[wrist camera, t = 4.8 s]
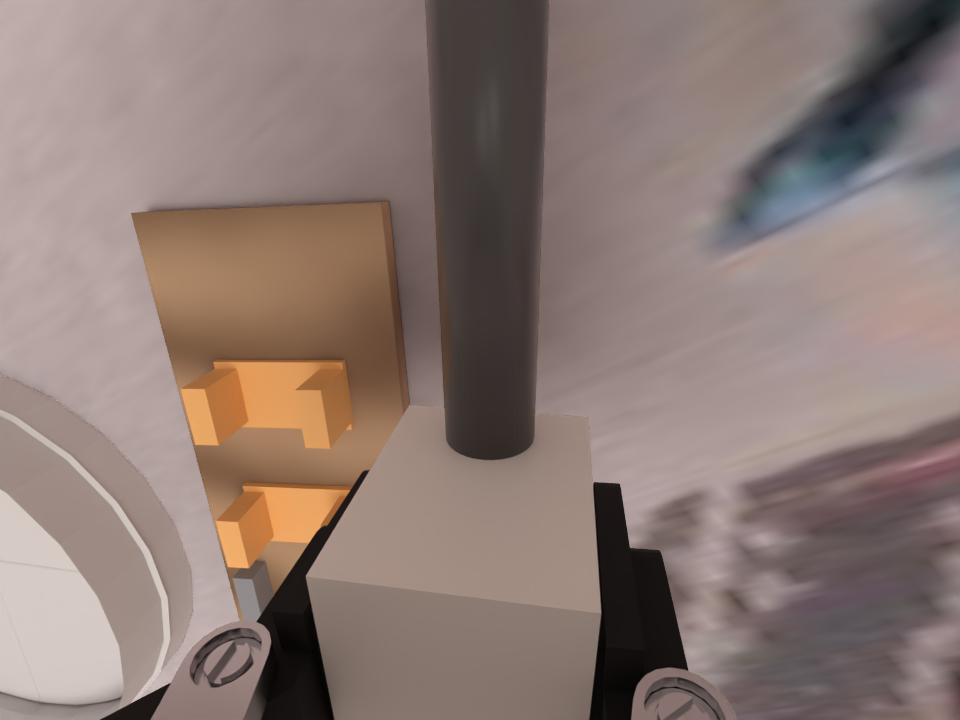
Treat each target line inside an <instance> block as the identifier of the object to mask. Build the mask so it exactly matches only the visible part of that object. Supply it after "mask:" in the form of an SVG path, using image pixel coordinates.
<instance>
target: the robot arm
mask: <svg viewBox="0 0 960 720" xmlns="http://www.w3.org/2000/svg"><path fill="white" fill-rule="evenodd" d="M369 471H370V470H364V471H363V472H362V473H361V475H360V476H359V478H358V479H357V481H356V482H355V484H354V485H353V487H352V488H351V490H350V491H349V493H348V494H347V496H346V498H345V499H344V501H343V502H342V504H341V505H340V507H339V508H338V510H337V511H336V513H335V514H334V516H333V517H332V519H331V521H330V522H329V524H328V525H327V526H323V527H321V528H320V529H319V530H318V531H317V532H316V533H315V535H314V536H313V538H312V539H311V541H310V542H309V544H308V545H307V547H306V548H305V550H304V551H303V553H302V554H301V556H300V557H299V559H298V560H297V562H296V563H295V565H294V566H293V568H292V569H291V571H290V572H289V574H288V575H287V577H286V578H285V580H284V581H283V583H282V584H281V586H280V587H279V589H278V590H277V592H276V593H275V595H274V596H273V598H272V599H271V600H270V602H269V603H268V605H267V606H266V608H265V609H264V611H263V612H262V614H261V615H260V617H259V618H258V620H257V621H256V622H255V621H238V622H233V623H229V624H227V625H224V626H222V627H219V628H217V629H215V630H214V631H212V632H211V633H209V634H208V635H206V636H204V637H203V638H202V639H201V640H200V641H199V642H198V643H197V644H196V645H194V646H193V647H192V649H191V650H190V652H189V653H188V654H187V656H186V657H185V659H184V660H183V662H182V664H181V666H180V667H179V669H178V671H177V673H176V675H175V677H174V678H173V680H172V682H171V683H169V684H167V685H166V686H164V687H162V688H160V689H158V690H156V691H154V692H152V693H150V694H148V695H146V696H144V697H142V698H141V699H139V700H137V701H135V702H133V703H131V704H129V705H127V706H125V707H123V708H121V709H119V710H117V711H115V712H114V713H112V714H110V715H108V716H106V717H104V718H102V719H100V720H334V715H333V710H332V705H331V700H330V695H329V690H328V685H327V680H326V675H325V670H324V665H323V660H322V655H321V650H320V645H319V640H318V635H317V630H316V625H315V620H314V615H313V610H312V605H311V600H310V596H309V591H308V586H307V581H306V575H307V573H308V572H309V570H310V568H311V567H312V565H313V563H314V562H315V560H316V558H317V557H318V555H319V553H320V552H321V550H322V548H323V547H324V545H325V543H326V542H327V540H328V539H329V537H330V535H331V534H332V532H333V530H334V529H335V527H336V525H337V524H338V522H339V520H340V519H341V517H342V515H343V514H344V512H345V510H346V509H347V507H348V505H349V504H350V502H351V501H352V499H353V497H354V496H355V494H356V492H357V491H358V489H359V487H360V486H361V484H362V482H363V481H364V479H365V477H366V476H367V474H368V472H369ZM593 494H594V509H595V525H596V540H597V556H598V571H599V587H600V602H601V620H600V629H599V637H598V646H597V655H596V664H595V673H594V681H593V690H592V699H591V708H590V717H589V720H736V716H735V713H734V711H733V710H732V708H731V706H730V704H729V703H728V701H727V699H726V698H725V697H724V696H723V695H722V694H721V693H720V692H719V690H718V689H717V688H716V687H715V686H714V685H712V684H711V683H709V682H708V681H706V680H705V679H704V678H702V677H701V676H699V675H696V674H694V673H691V672H689V671H688V667H687V663H686V658H685V654H684V649H683V645H682V641H681V636H680V632H679V628H678V623H677V619H676V615H675V610H674V606H673V601H672V597H671V593H670V588H669V584H668V580H667V575H666V571H665V567H664V562H663V558H662V555H661V552H660V551H659V550H648V549H634V548H630V546H629V540H628V533H627V527H626V520H625V513H624V507H623V500H622V494H621V487H620V484H616V483H598V482H594V485H593Z"/></svg>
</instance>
